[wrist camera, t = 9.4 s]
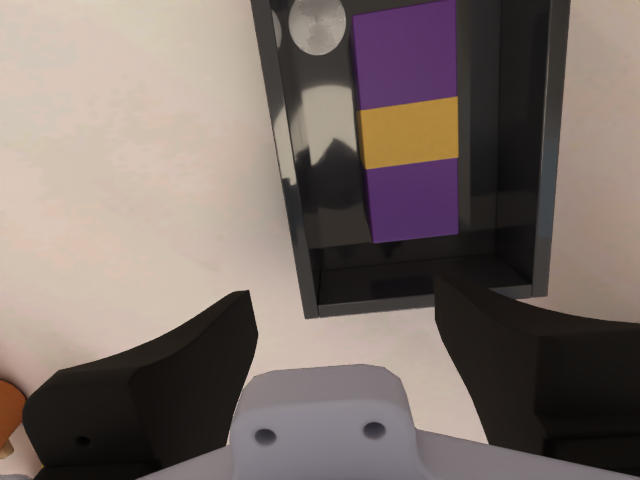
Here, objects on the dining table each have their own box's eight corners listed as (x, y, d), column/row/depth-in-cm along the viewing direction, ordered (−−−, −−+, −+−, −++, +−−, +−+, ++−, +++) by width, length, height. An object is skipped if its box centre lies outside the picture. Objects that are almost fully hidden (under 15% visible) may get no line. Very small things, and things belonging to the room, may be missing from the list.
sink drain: (342, -16, 18) (342, -17, 18) (348, 50, 19) (349, 49, 19) (284, -6, 18) (283, -6, 18) (293, 59, 19) (293, 58, 19)
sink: (512, -72, 17) (583, -147, 12) (502, 258, 23) (548, 297, 18) (263, -26, 19) (236, -79, 14) (311, 278, 24) (304, 320, 19)
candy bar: (434, 19, 18) (457, -4, 15) (440, 215, 22) (459, 234, 18) (348, 33, 19) (350, 14, 15) (366, 224, 22) (372, 244, 18)
